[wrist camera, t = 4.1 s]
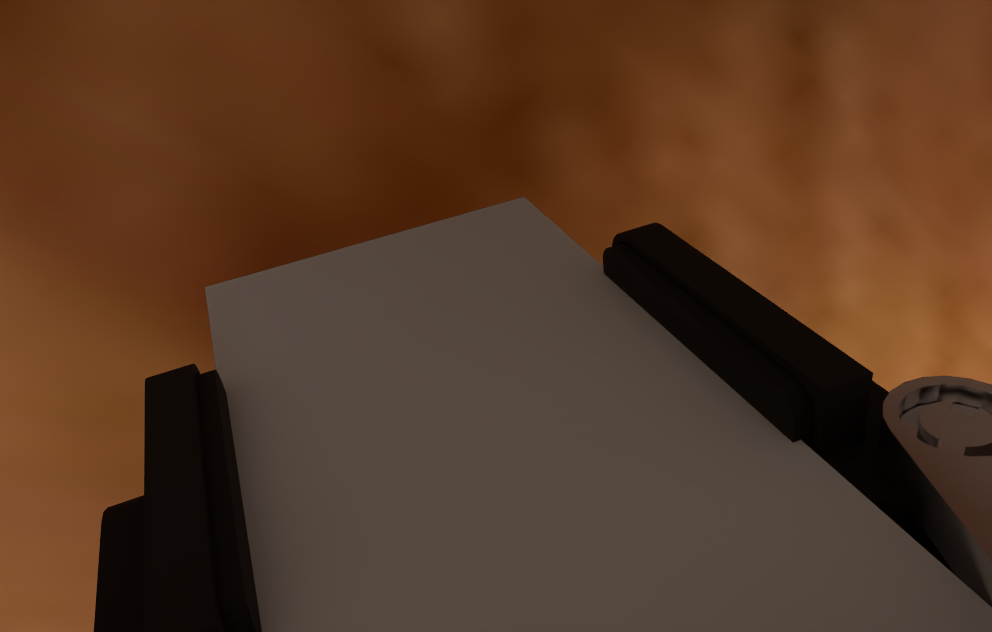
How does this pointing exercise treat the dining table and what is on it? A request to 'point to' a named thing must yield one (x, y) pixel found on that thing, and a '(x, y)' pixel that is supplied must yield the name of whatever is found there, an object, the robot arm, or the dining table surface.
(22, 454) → the dining table surface
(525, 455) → the tile
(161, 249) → the dining table surface
